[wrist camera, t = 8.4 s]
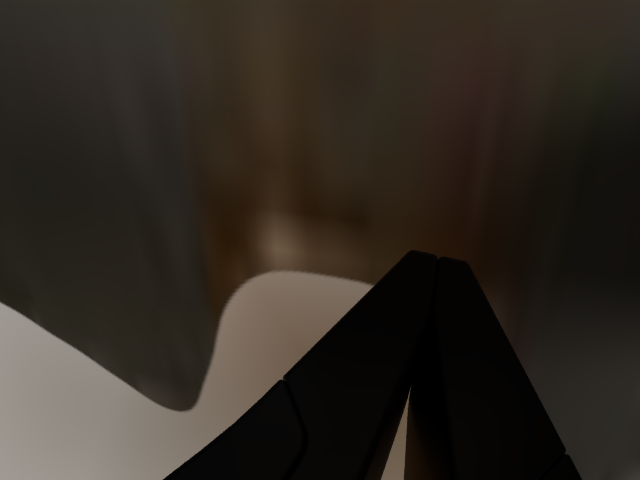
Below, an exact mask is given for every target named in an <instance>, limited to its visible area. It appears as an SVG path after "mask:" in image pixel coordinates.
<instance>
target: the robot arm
mask: <svg viewBox="0 0 640 480" xmlns="http://www.w3.org/2000/svg"><path fill="white" fill-rule="evenodd" d="M410 387H411V390H410ZM409 391H410V396H409V404H408V416H407V435H406V452H405V469H404V480H582V479H581V477H580V475H579V473H578V471H577V469H576V467H575V465H574V463H573V461H572V459H571V457H570V456H569V455H567V454H565V453H566V448H565V447H564V445H563V443H562V441H561V439H560V437H559V435H558V433H557V431H556V429H555V428H554V426H553V424H552V422H551V420H550V418H549V416H548V414H547V412H546V410H545V408H544V407H543V405H542V403H541V401H540V399H539V397H538V395H537V393H536V391H535V389H534V388H533V386H532V384H531V382H530V380H529V378H528V376H527V374H526V372H525V370H524V368H523V367H522V365H521V363H520V361H519V359H518V357H517V355H516V353H515V351H514V349H513V348H512V346H511V344H510V342H509V340H508V338H507V336H506V334H505V332H504V330H503V329H502V327H501V325H500V323H499V321H498V319H497V317H496V315H495V313H494V311H493V309H492V308H491V306H490V304H489V302H488V300H487V298H486V296H485V294H484V292H483V290H482V289H481V287H480V285H479V283H478V281H477V279H476V277H475V275H474V273H473V271H472V270H471V268H470V266H469V264H468V263H467V262H465V261H462V260H458V259H453V258H448V257H440V258H439V259H437V256H436V255H434V254H430V253H425V252H420V251H416V250H411V251H409V252H408V253H407V254H406V255H405V256H404V257H403V258H402V259H401V260H400V261H399V262H398V263H397V264H396V265H395V266H394V267H393V268H392V269H391V270H390V271H389V272H388V273H387V274H386V275H385V276H384V277H383V278H382V279H381V280H380V281H379V282H378V283H377V284H376V285H375V286H374V287H373V288H372V289H371V290H370V291H369V292H368V293H367V294H366V295H365V296H364V297H363V298H362V299H361V300H360V301H359V302H358V303H357V304H356V305H355V306H353V308H351V309H350V311H348V312H347V313H346V315H344V317H342V318H341V319H340V321H339V322H337V323H336V324H335V325H334V326H333V327H332V328H331V329H330V330H329V331H328V332H327V333H326V334H325V335H324V336H323V337H322V338H321V339H320V340H319V341H318V342H317V343H316V344H315V345H314V346H313V347H312V348H311V349H310V350H309V351H308V352H307V353H306V354H305V355H304V356H303V357H302V358H301V359H300V360H299V361H298V362H297V363H296V364H295V365H294V366H293V367H292V368H291V369H290V370H289V371H288V372H287V373H286V374H285V375H284V377H283V380H279V381H278V382H277V383H276V384H275V385H274V386H273V387H272V388H271V389H270V390H269V391H268V392H267V393H266V394H265V395H264V396H263V397H262V398H261V399H260V400H258V402H257V403H255V404H254V405H253V406H252V407H251V408H250V409H249V410H248V411H247V412H246V413H245V414H243V415H242V416H241V417H240V418H239V419H238V420H237V421H236V422H235V423H234V424H232V426H230V427H229V428H228V429H226V430H225V431H224V432H223V433H221V434H220V435H219V436H218V437H216V438H215V439H214V440H213V441H212V442H210V443H209V444H208V445H207V446H205V447H204V448H203V449H202V450H201V451H199V452H198V453H197V454H195V455H194V456H193V457H192V458H190V459H189V460H188V461H186V462H185V463H184V464H182V465H181V466H180V467H179V468H177V469H176V470H175V471H173V472H172V473H171V474H169V475H168V476H167V477H166V478H164V479H163V480H381V478H382V474H383V471H384V469H385V466H386V462H387V460H388V457H389V453H390V450H391V448H392V445H393V442H394V439H395V436H396V433H397V430H398V427H399V424H400V421H401V418H402V415H403V412H404V408H405V405H406V402H407V399H408V395H409Z"/></svg>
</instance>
